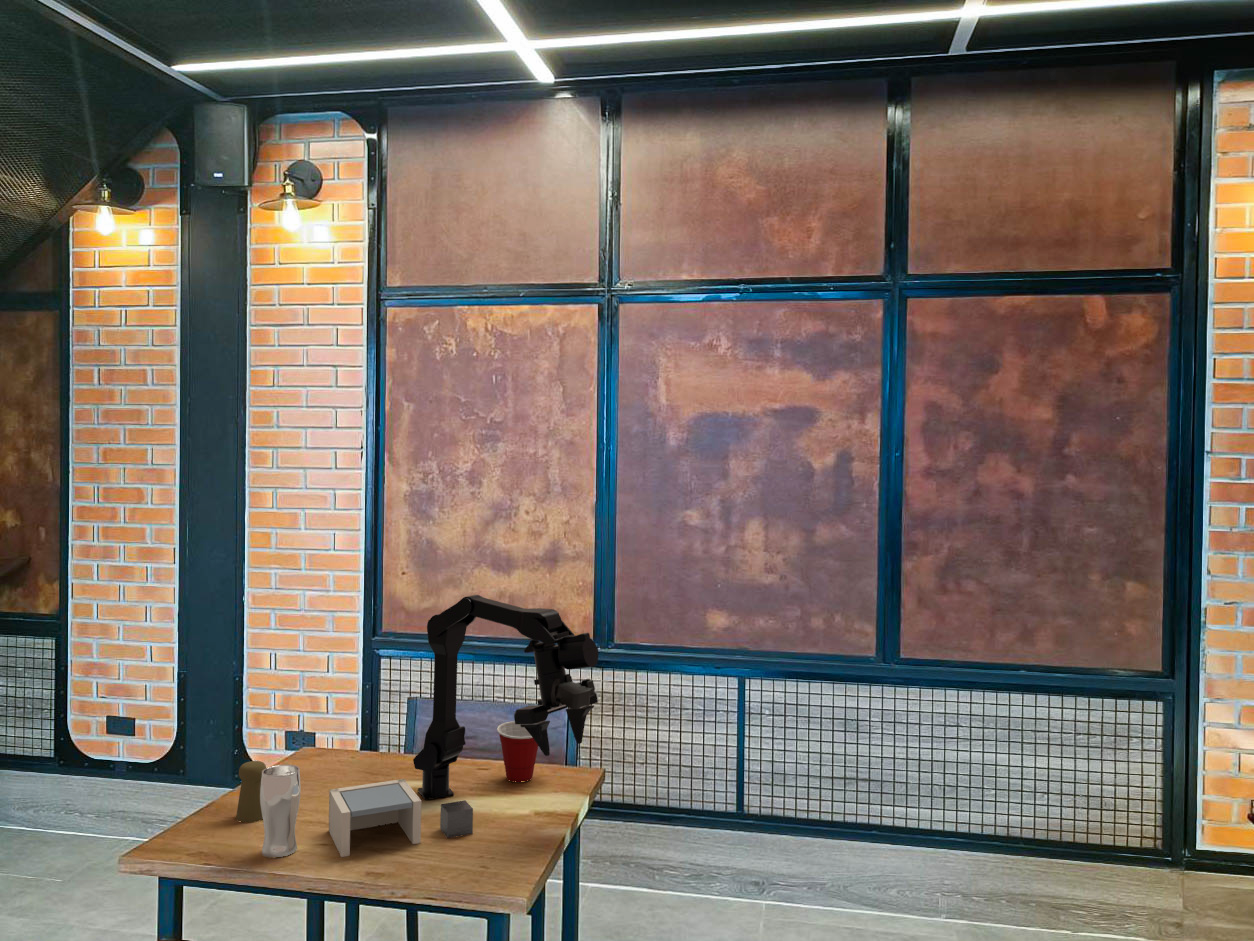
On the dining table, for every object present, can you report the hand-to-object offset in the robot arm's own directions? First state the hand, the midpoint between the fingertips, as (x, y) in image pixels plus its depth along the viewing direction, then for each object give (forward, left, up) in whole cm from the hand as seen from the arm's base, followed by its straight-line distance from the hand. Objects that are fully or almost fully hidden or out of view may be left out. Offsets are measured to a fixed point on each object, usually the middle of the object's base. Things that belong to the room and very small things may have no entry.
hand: (563, 749), depth 181 cm
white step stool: (-9, -35, -15) cm, 40 cm away
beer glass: (-10, -52, -15) cm, 56 cm away
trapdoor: (-8, -35, -8) cm, 37 cm away
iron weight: (-5, -20, -15) cm, 26 cm away
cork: (-30, -55, -15) cm, 65 cm away
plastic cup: (-28, +2, -15) cm, 32 cm away
